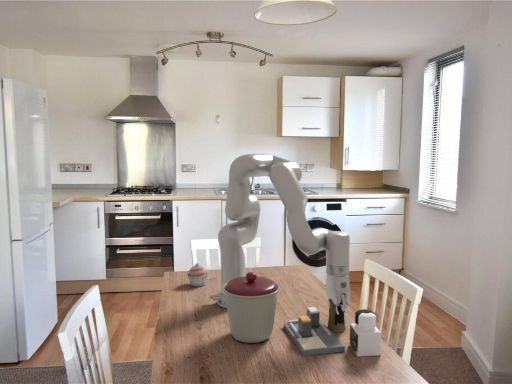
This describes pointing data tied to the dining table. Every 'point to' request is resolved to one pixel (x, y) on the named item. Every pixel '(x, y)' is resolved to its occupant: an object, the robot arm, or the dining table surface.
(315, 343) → the panel
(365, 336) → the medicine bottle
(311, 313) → the toggle plain
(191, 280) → the cupcake
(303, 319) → the block
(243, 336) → the canister
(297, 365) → the dining table surface
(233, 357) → the dining table surface
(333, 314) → the cork
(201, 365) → the dining table surface
